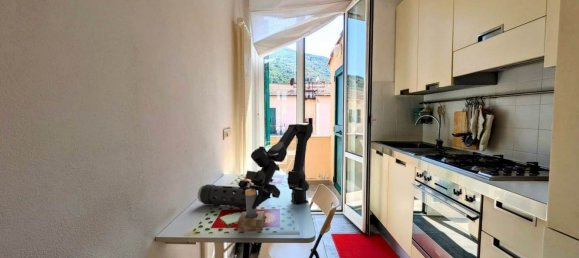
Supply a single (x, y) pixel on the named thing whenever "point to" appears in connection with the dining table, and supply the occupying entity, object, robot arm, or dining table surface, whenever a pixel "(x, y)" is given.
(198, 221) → the dining table surface
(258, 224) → the socket block
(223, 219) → the mat
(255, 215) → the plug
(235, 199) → the muzzle brake
